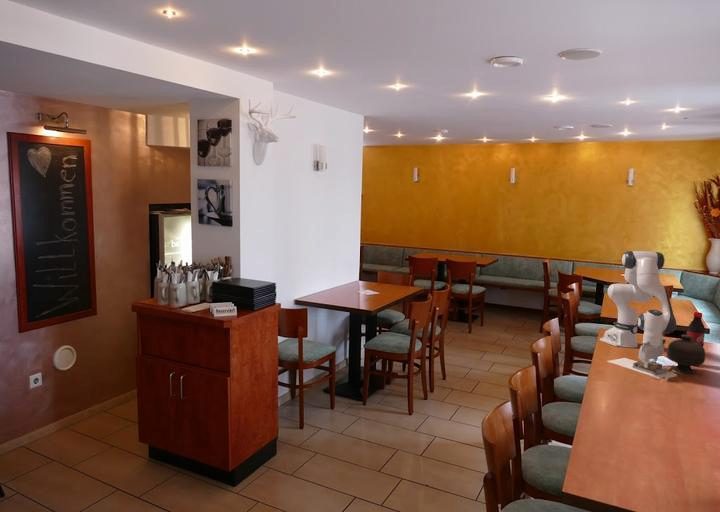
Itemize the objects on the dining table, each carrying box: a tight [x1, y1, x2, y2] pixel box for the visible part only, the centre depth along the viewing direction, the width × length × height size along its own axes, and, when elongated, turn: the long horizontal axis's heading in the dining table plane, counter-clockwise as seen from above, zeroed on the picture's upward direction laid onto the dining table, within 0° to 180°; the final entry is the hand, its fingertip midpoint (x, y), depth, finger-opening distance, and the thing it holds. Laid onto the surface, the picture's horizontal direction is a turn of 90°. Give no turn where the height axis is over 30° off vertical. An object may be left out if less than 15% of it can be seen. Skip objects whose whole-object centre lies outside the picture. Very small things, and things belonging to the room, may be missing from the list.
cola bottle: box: [686, 311, 706, 367], centre depth 298 cm, size 8×8×30 cm
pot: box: [666, 334, 706, 375], centre depth 286 cm, size 18×18×20 cm
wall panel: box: [607, 357, 678, 381], centre depth 286 cm, size 30×16×4 cm, turn 28°
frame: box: [637, 360, 663, 373], centre depth 282 cm, size 10×6×4 cm, turn 36°
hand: (649, 366), depth 282 cm, fingers open, 6 cm apart
